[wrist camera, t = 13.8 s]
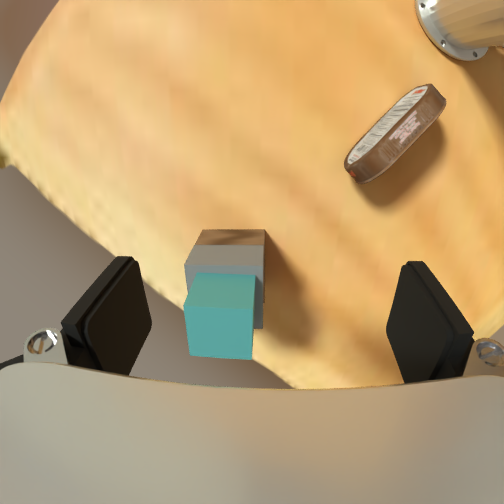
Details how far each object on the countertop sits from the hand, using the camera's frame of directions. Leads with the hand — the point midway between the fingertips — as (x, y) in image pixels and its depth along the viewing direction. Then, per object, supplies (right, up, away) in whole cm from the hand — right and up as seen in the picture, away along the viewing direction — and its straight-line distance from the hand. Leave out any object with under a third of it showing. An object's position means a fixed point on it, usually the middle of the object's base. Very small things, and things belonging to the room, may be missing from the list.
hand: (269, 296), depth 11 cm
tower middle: (-3, -1, +27) cm, 27 cm away
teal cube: (-3, -3, +22) cm, 23 cm away
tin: (+15, +17, +23) cm, 32 cm away
